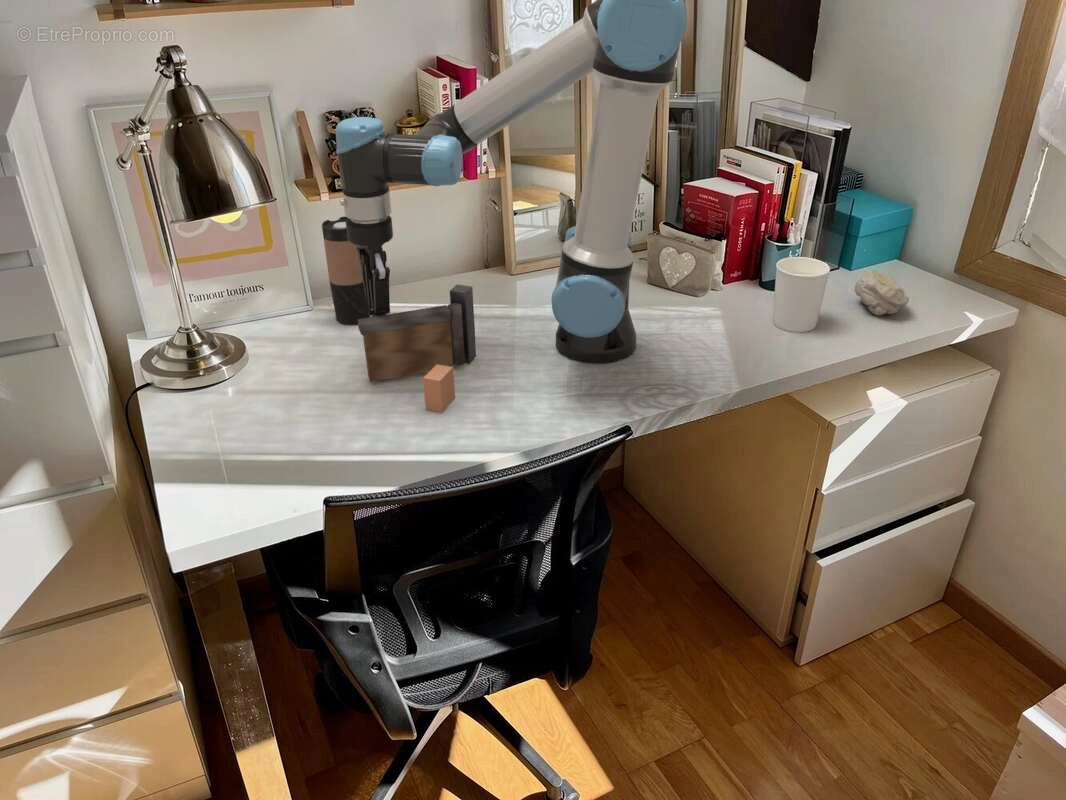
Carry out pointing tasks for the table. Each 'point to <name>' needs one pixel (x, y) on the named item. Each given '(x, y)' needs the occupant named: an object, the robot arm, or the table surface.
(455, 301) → the hinge post
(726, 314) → the table surface
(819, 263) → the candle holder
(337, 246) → the travel mug
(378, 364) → the walnut gate
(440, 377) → the block
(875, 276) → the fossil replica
